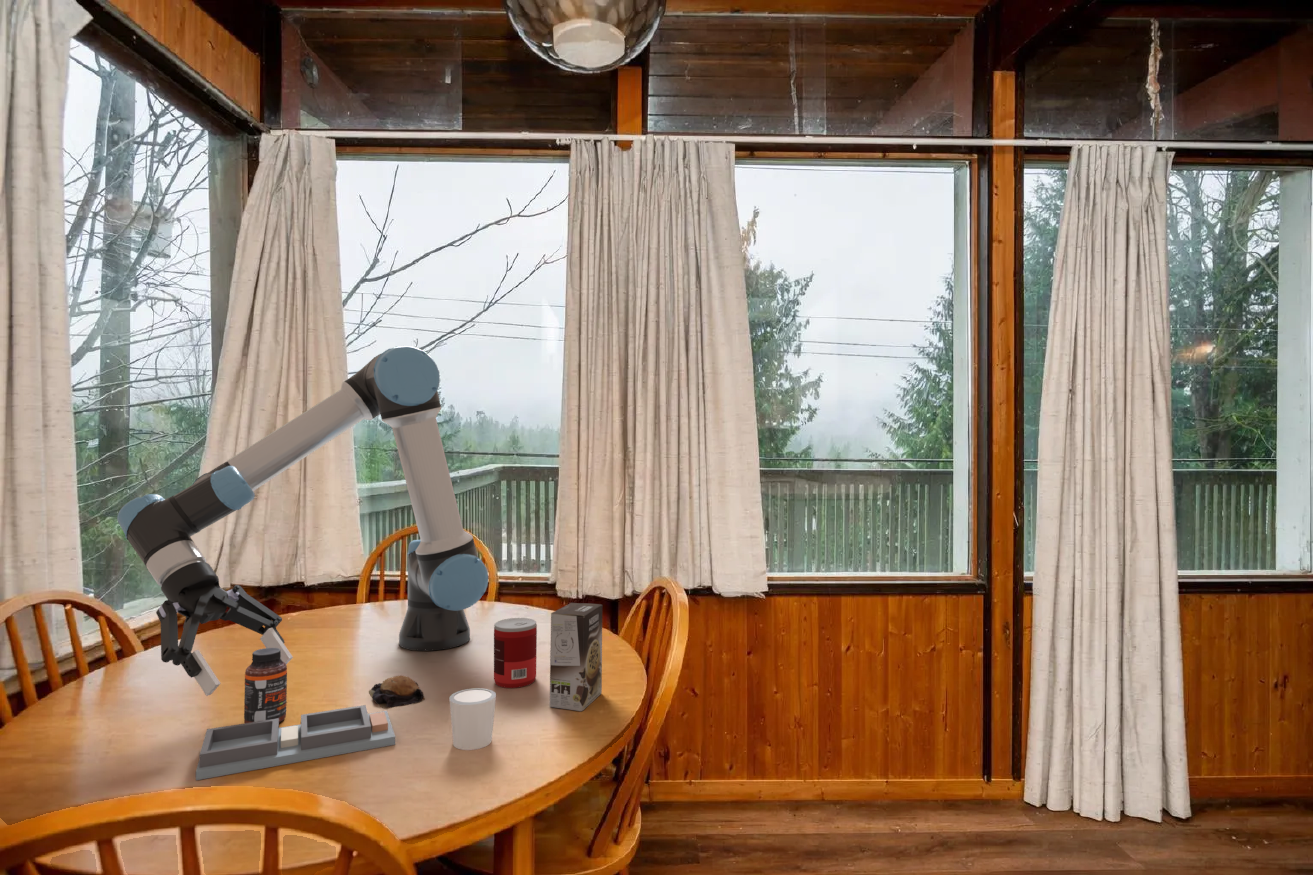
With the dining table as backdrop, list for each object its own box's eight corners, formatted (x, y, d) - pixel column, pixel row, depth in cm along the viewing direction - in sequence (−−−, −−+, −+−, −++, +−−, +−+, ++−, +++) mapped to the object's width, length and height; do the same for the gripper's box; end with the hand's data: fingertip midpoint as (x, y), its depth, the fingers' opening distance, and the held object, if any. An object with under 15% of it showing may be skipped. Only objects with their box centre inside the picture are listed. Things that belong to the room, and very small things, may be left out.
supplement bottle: (267, 730, 110) (268, 657, 110) (234, 727, 111) (235, 655, 111) (294, 715, 116) (295, 646, 116) (263, 712, 117) (263, 644, 117)
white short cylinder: (453, 755, 102) (454, 706, 102) (444, 737, 108) (444, 691, 108) (501, 746, 105) (501, 699, 105) (489, 729, 111) (489, 684, 111)
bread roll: (365, 694, 127) (365, 674, 127) (413, 685, 132) (413, 665, 132) (379, 713, 118) (379, 691, 118) (430, 703, 123) (430, 682, 123)
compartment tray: (386, 717, 115) (386, 699, 115) (395, 744, 105) (395, 724, 105) (205, 747, 104) (205, 727, 104) (195, 780, 94) (195, 757, 94)
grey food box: (583, 712, 118) (584, 615, 118) (548, 707, 120) (549, 612, 120) (603, 693, 127) (604, 603, 127) (570, 689, 129) (571, 600, 129)
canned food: (544, 677, 135) (544, 620, 135) (519, 691, 128) (519, 630, 128) (511, 671, 138) (511, 615, 138) (485, 684, 131) (485, 625, 131)
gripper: (237, 575, 131) (300, 666, 126) (92, 605, 107) (163, 718, 102) (260, 548, 129) (325, 639, 124) (118, 573, 105) (191, 686, 101)
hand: (252, 675), depth 113 cm, fingers open, 13 cm apart
